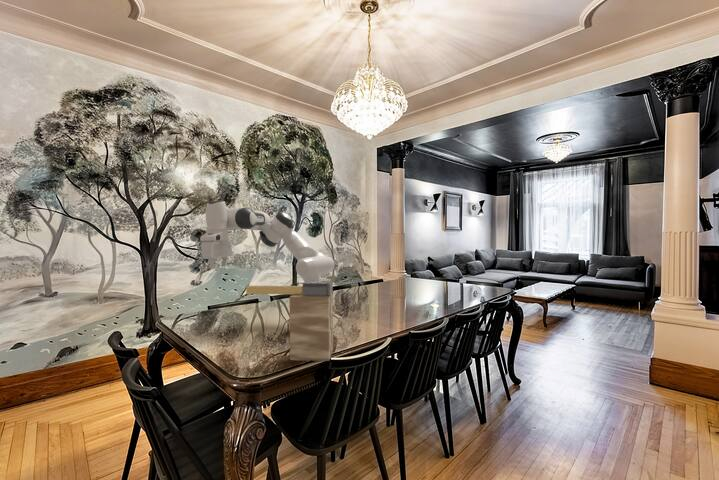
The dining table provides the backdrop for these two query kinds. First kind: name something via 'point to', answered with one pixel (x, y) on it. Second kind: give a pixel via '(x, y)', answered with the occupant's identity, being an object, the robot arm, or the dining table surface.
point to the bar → (274, 290)
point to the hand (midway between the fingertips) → (218, 267)
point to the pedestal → (311, 327)
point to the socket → (317, 288)
